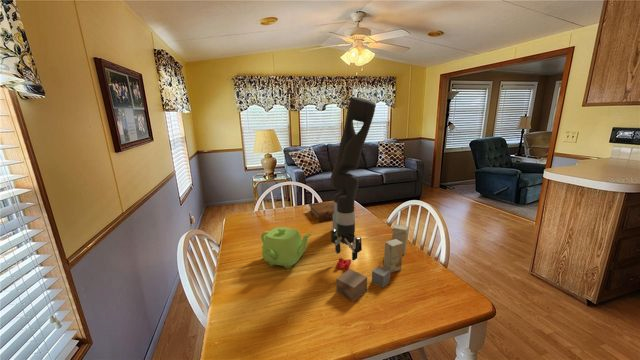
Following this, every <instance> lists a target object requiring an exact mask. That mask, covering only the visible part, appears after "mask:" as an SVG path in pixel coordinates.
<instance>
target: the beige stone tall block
mask: <svg viewBox="0 0 640 360" xmlns="http://www.w3.org/2000/svg"><path fill="white" fill-rule="evenodd" d="M408 230H409V226H407V225H400V224H394V225H393V226H392V233H391V234H392V235H391V237H392V238H391V240H394V239H397V240H399V241H401V242H402V243H403V251H402V255H405V254H406V251H407V245H408V244H407V241H408Z"/></svg>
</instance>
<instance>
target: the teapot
mask: <svg viewBox="0 0 640 360" xmlns="http://www.w3.org/2000/svg"><path fill="white" fill-rule="evenodd" d="M312 235H313V234H312V233H306V234H303V237H302V236H301V234H300V232H299V230H298V229H296V228H290V227H285V226H278V227H274V228H273V229H271V230H270V231H269V230H266V231H265V230H264V231H263V232H262V233H261V235H260V238H261V242H262V243H263V244H262V245H261V248H262V251H261V255H262V258H263V260H265V262H266V263H268V265H269V266H270V265H271V267H274V266H281V267H284V269H287V270H289V269H291V268H293V266H294V265H295V264H297V262H298V261H299V260H300V258H301V257H302V255H303V254H304V253H305V251H306V250H307V247H308V238H309V237H311V236H312Z"/></svg>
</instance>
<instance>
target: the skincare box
mask: <svg viewBox="0 0 640 360" xmlns="http://www.w3.org/2000/svg"><path fill="white" fill-rule="evenodd" d="M402 251H403V243H402V242H401V241H399V240H397V239H394V240H392V239H391V240H388V241H385V242H384V253H383V254H384V256H383V268H386V269H388V270H390V274H391V273H394V272H397V271H400V270H402V263H403V254H402Z"/></svg>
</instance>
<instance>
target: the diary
mask: <svg viewBox="0 0 640 360" xmlns="http://www.w3.org/2000/svg"><path fill="white" fill-rule="evenodd" d="M308 206H309V207H310V210H309V214H311V215H312V216H313V217H314V218H315V220H316V221H318V223H320V222H325V221H333V213H334V200H329V201H322V202H315V203H309V204H308Z"/></svg>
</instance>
